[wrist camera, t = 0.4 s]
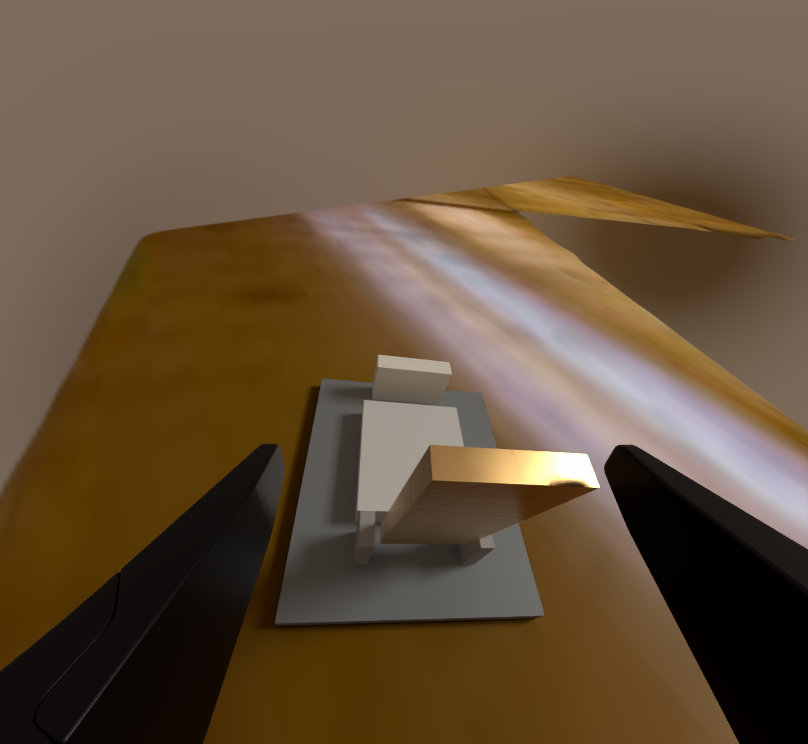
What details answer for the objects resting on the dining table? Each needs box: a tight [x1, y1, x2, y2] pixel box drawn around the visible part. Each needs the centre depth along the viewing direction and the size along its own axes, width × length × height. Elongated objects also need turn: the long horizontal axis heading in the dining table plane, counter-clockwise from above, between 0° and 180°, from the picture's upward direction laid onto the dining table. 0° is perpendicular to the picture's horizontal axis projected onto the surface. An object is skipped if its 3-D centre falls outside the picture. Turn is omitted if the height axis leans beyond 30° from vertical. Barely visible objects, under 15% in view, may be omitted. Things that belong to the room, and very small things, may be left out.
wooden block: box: [380, 445, 600, 545], centre depth 13 cm, size 1×5×11 cm, turn 92°
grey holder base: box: [275, 355, 545, 626], centre depth 22 cm, size 17×15×5 cm
